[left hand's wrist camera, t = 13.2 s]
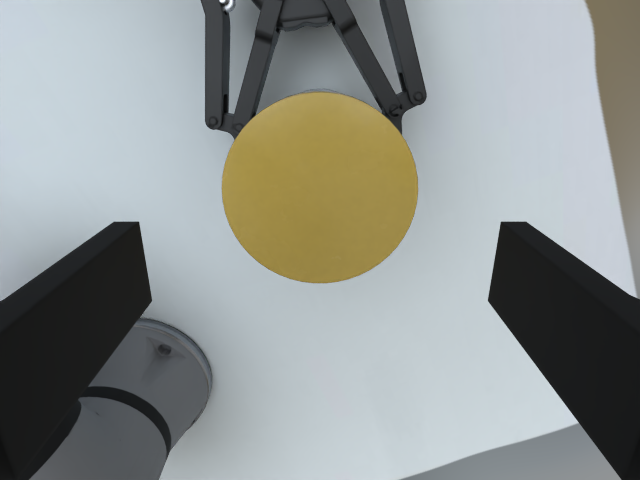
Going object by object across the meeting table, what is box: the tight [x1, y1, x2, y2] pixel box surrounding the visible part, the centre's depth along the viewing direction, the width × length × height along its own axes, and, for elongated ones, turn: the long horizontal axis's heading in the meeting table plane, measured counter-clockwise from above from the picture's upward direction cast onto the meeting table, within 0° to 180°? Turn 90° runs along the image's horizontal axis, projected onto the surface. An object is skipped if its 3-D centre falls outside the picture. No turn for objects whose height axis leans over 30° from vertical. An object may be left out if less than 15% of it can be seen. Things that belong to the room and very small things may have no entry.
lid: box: [222, 91, 418, 283], centre depth 21 cm, size 10×10×2 cm
